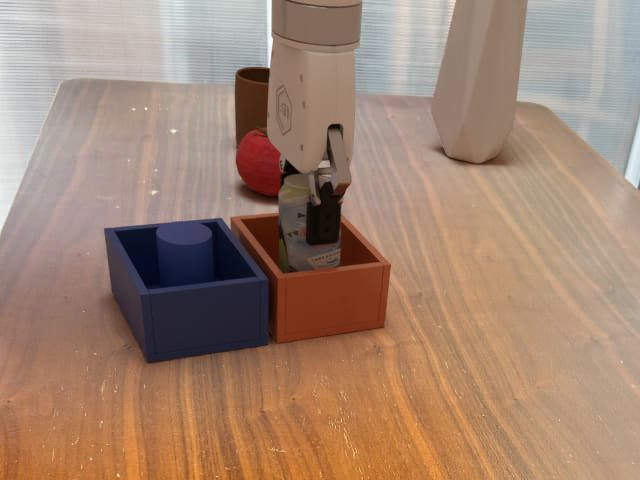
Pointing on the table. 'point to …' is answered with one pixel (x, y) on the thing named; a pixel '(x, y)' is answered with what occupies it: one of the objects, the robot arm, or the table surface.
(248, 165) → the tomato
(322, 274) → the terracotta bin
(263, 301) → the blue bin
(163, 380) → the table surface
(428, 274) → the table surface
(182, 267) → the blue cylinder
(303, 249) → the beverage can
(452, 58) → the vase
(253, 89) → the mug
